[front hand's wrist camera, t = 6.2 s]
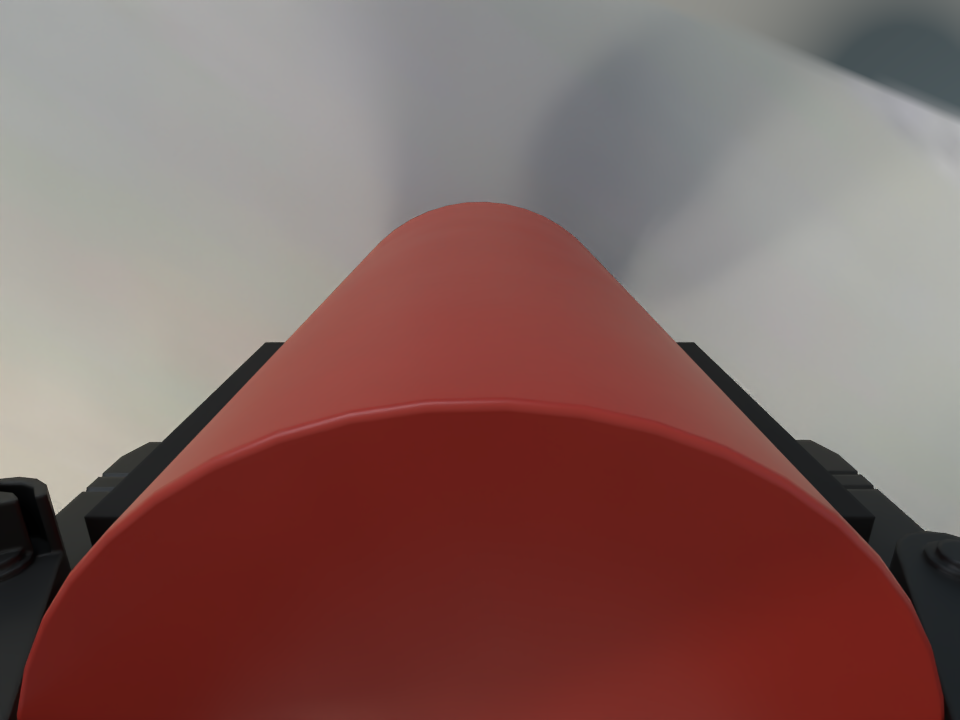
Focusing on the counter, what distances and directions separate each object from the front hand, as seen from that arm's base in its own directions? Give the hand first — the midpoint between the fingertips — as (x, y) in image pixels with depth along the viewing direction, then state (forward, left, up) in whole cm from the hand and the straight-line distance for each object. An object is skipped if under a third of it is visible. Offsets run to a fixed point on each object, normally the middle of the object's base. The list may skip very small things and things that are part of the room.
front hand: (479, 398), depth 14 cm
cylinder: (0, 0, -4) cm, 4 cm away
